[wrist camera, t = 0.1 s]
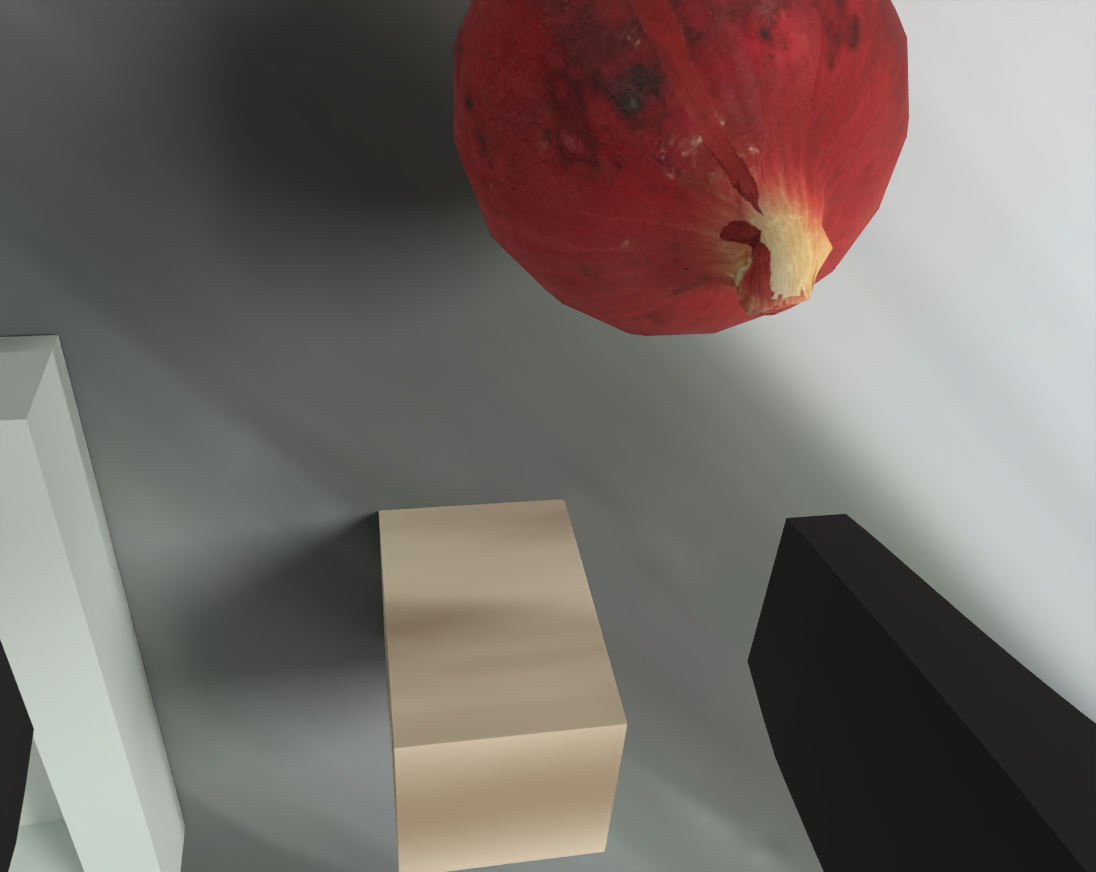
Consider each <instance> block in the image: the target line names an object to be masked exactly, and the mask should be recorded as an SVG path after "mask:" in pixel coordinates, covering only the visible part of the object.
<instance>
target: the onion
mask: <svg viewBox="0 0 1096 872" xmlns="http://www.w3.org/2000/svg"><path fill="white" fill-rule="evenodd" d="M908 120H909V99H908V57H907V37H906V34H905V32H904V29H903V27H902V24H901V22H900V19H899V16H898V14H897V12H896V10H895V8H894V6H893V4H892V2H891V0H472V2H471V4H470V7H469V9H468V11H467V13H466V16H465V18H464V20H463V22H462V24H461V27H460V29H459V32H458V36H457V39H456V42H455V45H454V76H453V139H454V142H455V145H456V147H457V150H458V153H459V156H460V159H461V162H462V165H463V167H464V169H465V172H466V174H467V177H468V179H469V182H470V184H471V187H472V189H473V192H474V194H475V197H476V199H477V202H478V204H479V207H480V209H481V212H482V214H483V217H484V219H485V222H486V224H487V227H488V229H489V232H490V234H491V237H492V238H493V239H494V240H495V241H496V242H497V243H498V244H499V245H500V246H501V247H502V248H503V249H504V250H505V251H506V252H507V253H508V254H509V255H511V256H512V257H513V258H514V259H515V260H516V261H517V262H518V263H519V264H520V265H521V266H522V267H523V268H524V269H525V270H526V271H527V272H528V273H529V274H530V275H531V276H532V277H533V278H534V279H535V280H536V281H537V282H538V283H539V284H540V285H541V286H542V287H543V288H544V289H545V290H547V291H548V292H549V293H550V294H552V295H553V296H554V297H555V298H556V299H558V300H559V301H560V302H561V303H562V304H565V305H567V306H569V307H571V308H574V309H576V310H578V311H580V312H582V313H585V314H587V315H589V316H591V317H593V318H596V319H598V320H600V321H602V322H605V323H607V324H609V325H611V326H613V327H616V328H618V329H620V330H622V331H625V332H627V333H629V334H636V335H644V336H655V335H680V334H705V333H716V332H719V331H721V330H724V329H727V328H730V327H733V326H735V325H738V324H741V323H744V322H747V321H749V320H752V319H755V318H758V317H761V316H763V315H774V314H777V313H779V312H782V311H785V310H787V309H790V308H792V307H793V306H795V305H797V304H799V303H801V302H803V301H805V300H807V299H809V298H810V295H811V292H812V289H813V286H814V284H815V283H817V282H818V281H820V280H821V279H822V278H824V277H825V276H827V275H828V274H829V273H831V272H832V271H833V270H834V269H835V268H836V266H837V265H838V264H839V262H840V261H841V260H842V258H843V257H844V255H845V254H846V253H847V251H848V250H849V249H850V247H851V246H852V245H853V243H854V242H855V240H856V239H857V238H858V236H859V235H860V234H861V232H862V231H863V230H864V228H865V227H866V225H867V224H868V223H869V221H870V220H871V219H872V217H873V216H874V215H875V213H876V212H877V210H878V209H879V206H880V204H881V201H882V199H883V196H884V193H885V191H886V188H887V186H888V183H889V181H890V178H891V175H892V173H893V170H894V168H895V165H896V163H897V160H898V157H899V155H900V152H901V150H902V147H903V145H904V142H905V139H906V137H907V129H908Z"/></svg>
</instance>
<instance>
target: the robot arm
mask: <svg viewBox="0 0 1096 872" xmlns="http://www.w3.org/2000/svg"><path fill="white" fill-rule="evenodd" d="M748 664H749V668H750V671H751V675H752V679H753V682H754V686H755V689H756V693H757V697H758V700H759V704H760V708H761V711H762V715H763V718H764V722H765V725H766V728H767V731H768V735H769V738H770V741H771V745H772V748H773V751H774V754H775V758H776V760H777V763H778V765H779V767H780V770H781V772H782V775H783V777H784V780H785V782H786V784H787V787H788V789H789V791H790V794H791V796H792V799H793V801H794V803H795V806H796V808H797V810H798V813H799V815H800V817H801V820H802V822H803V825H804V827H805V829H806V832H807V834H808V836H809V839H810V841H811V843H812V846H813V848H814V850H815V853H816V855H817V857H818V859H819V862H820V864H821V866H822V869H823V871H824V872H1096V723H1094V722H1093V721H1092V720H1090V719H1089V718H1088V717H1086V716H1085V715H1084V714H1083V713H1081V712H1080V711H1079V710H1078V709H1076V708H1075V707H1074V706H1073V705H1071V704H1070V703H1069V702H1068V701H1066V700H1065V699H1064V698H1063V697H1061V696H1060V695H1059V694H1058V693H1056V692H1055V691H1054V690H1053V689H1051V688H1050V687H1049V686H1047V685H1046V684H1045V683H1044V682H1043V681H1041V680H1040V679H1039V678H1038V677H1036V676H1035V675H1034V674H1033V673H1032V672H1030V671H1029V670H1028V669H1027V668H1026V667H1024V666H1023V665H1022V664H1021V663H1019V662H1018V661H1017V660H1016V659H1015V658H1014V657H1012V656H1011V655H1010V654H1009V653H1008V652H1006V651H1005V650H1004V649H1003V648H1002V647H1000V646H999V645H998V644H997V643H996V642H994V641H993V640H992V639H991V638H990V637H989V636H987V635H986V634H985V633H984V632H983V631H981V630H980V629H979V628H978V627H977V626H976V625H974V624H973V623H972V622H971V621H970V620H969V619H967V618H966V617H965V616H964V615H963V614H962V613H960V612H959V611H958V610H957V609H956V608H955V607H954V606H952V605H951V604H950V603H949V602H948V601H947V600H946V599H944V598H943V597H942V596H941V595H940V594H939V593H937V592H936V591H935V590H934V589H933V588H932V587H931V586H929V585H928V584H927V583H926V582H925V581H924V580H923V579H921V578H920V577H919V576H918V575H917V574H916V573H915V572H913V571H912V570H911V569H910V568H909V567H908V566H906V565H905V564H904V563H903V562H902V561H901V560H900V559H898V558H897V557H896V556H895V555H894V554H893V553H892V552H890V551H889V550H888V549H887V548H886V547H885V546H883V545H882V544H881V543H880V542H879V541H878V540H877V539H875V538H874V537H873V536H872V535H871V534H869V533H868V532H867V531H866V530H865V529H864V528H862V527H861V526H860V525H859V524H857V523H856V522H855V521H854V520H853V519H851V518H850V517H849V516H848V515H846V514H838V515H824V516H810V517H796V518H786V522H785V525H784V529H783V533H782V536H781V540H780V544H779V547H778V551H777V555H776V558H775V562H774V566H773V570H772V573H771V577H770V581H769V584H768V588H767V592H766V595H765V599H764V603H763V606H762V610H761V614H760V617H759V621H758V625H757V628H756V632H755V636H754V639H753V643H752V647H751V650H750V654H749V658H748ZM33 732H34V728H33V725H32V722H31V720H30V717H29V714H28V712H27V709H26V706H25V704H24V701H23V698H22V696H21V693H20V690H19V688H18V685H17V682H16V680H15V677H14V674H13V672H12V669H11V666H10V664H9V661H8V659H7V656H6V653H5V651H4V648H3V645H2V643H1V640H0V872H8V871H9V867H10V864H11V860H12V856H13V853H14V849H15V846H16V841H17V835H18V829H19V823H20V818H21V812H22V806H23V800H24V794H25V788H26V781H27V774H28V767H29V760H30V753H31V746H32V739H33Z"/></svg>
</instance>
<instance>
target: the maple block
mask: <svg viewBox="0 0 1096 872" xmlns="http://www.w3.org/2000/svg"><path fill="white" fill-rule="evenodd" d="M379 527H380V549H381V572H382V595H383V617H384V640H385V656H386V672H387V688H388V704H389V720H390V736H391V752H392V768H393V784H394V800H395V816H396V832H397V848H398V864H399V872H446V871H454V870H462V869H470V868H478V867H486V866H494V865H501V864H509V863H517V862H525V861H533V860H541V859H549V858H557V857H565V856H573V855H581V854H589V853H597V852H604V851H605V846H606V840H607V835H608V829H609V824H610V818H611V812H612V807H613V801H614V796H615V790H616V785H617V779H618V773H619V768H620V762H621V757H622V751H623V745H624V740H625V734H626V729H627V721H626V717H625V714H624V710H623V707H622V703H621V700H620V696H619V692H618V689H617V685H616V682H615V678H614V675H613V671H612V668H611V664H610V661H609V657H608V653H607V650H606V646H605V643H604V639H603V636H602V632H601V629H600V625H599V621H598V618H597V614H596V611H595V607H594V604H593V600H592V597H591V593H590V589H589V586H588V582H587V579H586V575H585V572H584V568H583V565H582V561H581V557H580V554H579V550H578V547H577V543H576V540H575V536H574V533H573V529H572V525H571V522H570V518H569V515H568V511H567V508H566V504H565V501H564V499H557V500H541V501H525V502H510V503H494V504H478V505H463V506H447V507H431V508H415V509H400V510H384V511H379Z"/></svg>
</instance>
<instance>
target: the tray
mask: <svg viewBox="0 0 1096 872" xmlns="http://www.w3.org/2000/svg"><path fill="white" fill-rule="evenodd" d="M0 640H1V643H2V645H3V648H4V651H5V653H6V656H7V659H8V661H9V664H10V666H11V669H12V672H13V674H14V677H15V680H16V682H17V685H18V688H19V690H20V693H21V696H22V698H23V701H24V704H25V706H26V709H27V712H28V714H29V717H30V720H31V722H32V725H33V728H34V732H33V739H32V746H31V753H30V760H29V767H28V774H27V781H26V788H25V794H24V800H23V806H22V812H21V818H20V823H19V829H18V835H17V841H16V846H15V849H14V853H13V856H12V860H11V864H10V867H9V871H8V872H180V868H181V860H182V851H183V842H184V834H185V824H184V820H183V816H182V812H181V809H180V805H179V801H178V797H177V793H176V789H175V785H174V781H173V778H172V774H171V770H170V766H169V762H168V758H167V754H166V751H165V747H164V743H163V739H162V735H161V731H160V727H159V723H158V720H157V716H156V712H155V708H154V704H153V700H152V696H151V692H150V689H149V685H148V681H147V677H146V673H145V669H144V665H143V661H142V658H141V654H140V650H139V646H138V642H137V638H136V634H135V630H134V627H133V623H132V619H131V615H130V611H129V607H128V603H127V600H126V596H125V592H124V588H123V584H122V580H121V576H120V572H119V569H118V565H117V561H116V557H115V553H114V549H113V545H112V541H111V538H110V534H109V530H108V526H107V522H106V518H105V514H104V510H103V507H102V503H101V499H100V495H99V491H98V487H97V483H96V479H95V476H94V472H93V468H92V464H91V460H90V456H89V452H88V449H87V445H86V441H85V437H84V433H83V429H82V425H81V421H80V418H79V414H78V410H77V406H76V402H75V398H74V394H73V390H72V387H71V383H70V379H69V375H68V371H67V367H66V363H65V359H64V356H63V352H62V348H61V344H60V340H59V336H58V335H43V336H12V337H0Z"/></svg>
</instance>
